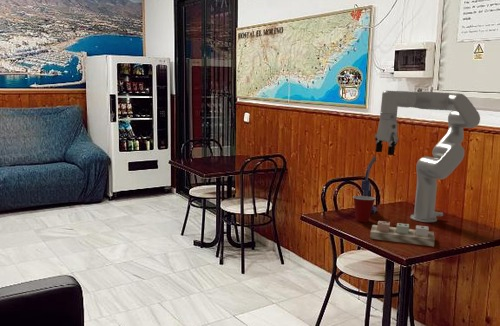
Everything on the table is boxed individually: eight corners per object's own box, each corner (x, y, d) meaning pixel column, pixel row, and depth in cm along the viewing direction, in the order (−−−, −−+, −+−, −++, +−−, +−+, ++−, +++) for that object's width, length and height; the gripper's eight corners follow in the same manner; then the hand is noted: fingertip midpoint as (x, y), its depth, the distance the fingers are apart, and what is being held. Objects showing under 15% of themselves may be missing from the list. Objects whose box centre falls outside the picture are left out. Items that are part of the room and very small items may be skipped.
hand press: (371, 216, 256) (375, 161, 251) (354, 213, 259) (358, 159, 255) (379, 208, 272) (383, 157, 268) (363, 206, 276) (367, 155, 272)
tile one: (427, 234, 218) (428, 226, 218) (427, 237, 213) (428, 229, 213) (415, 232, 220) (416, 224, 219) (415, 235, 215) (416, 227, 214)
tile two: (408, 231, 220) (409, 223, 220) (408, 234, 216) (408, 226, 215) (396, 230, 222) (397, 222, 221) (396, 233, 217) (396, 225, 217)
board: (432, 238, 221) (433, 231, 221) (434, 246, 210) (434, 239, 209) (372, 231, 229) (372, 224, 228) (370, 238, 217) (370, 231, 217)
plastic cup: (372, 218, 251) (374, 194, 249) (375, 224, 240) (377, 199, 238) (350, 217, 252) (351, 193, 250) (352, 222, 241) (354, 198, 239)
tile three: (389, 229, 223) (390, 221, 222) (388, 232, 218) (389, 224, 218) (377, 228, 224) (378, 220, 224) (377, 231, 220) (377, 223, 219)
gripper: (406, 119, 230) (402, 156, 232) (384, 116, 246) (380, 151, 248) (392, 118, 227) (388, 156, 230) (371, 115, 243) (367, 150, 246)
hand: (384, 153), depth 239 cm, fingers open, 9 cm apart
